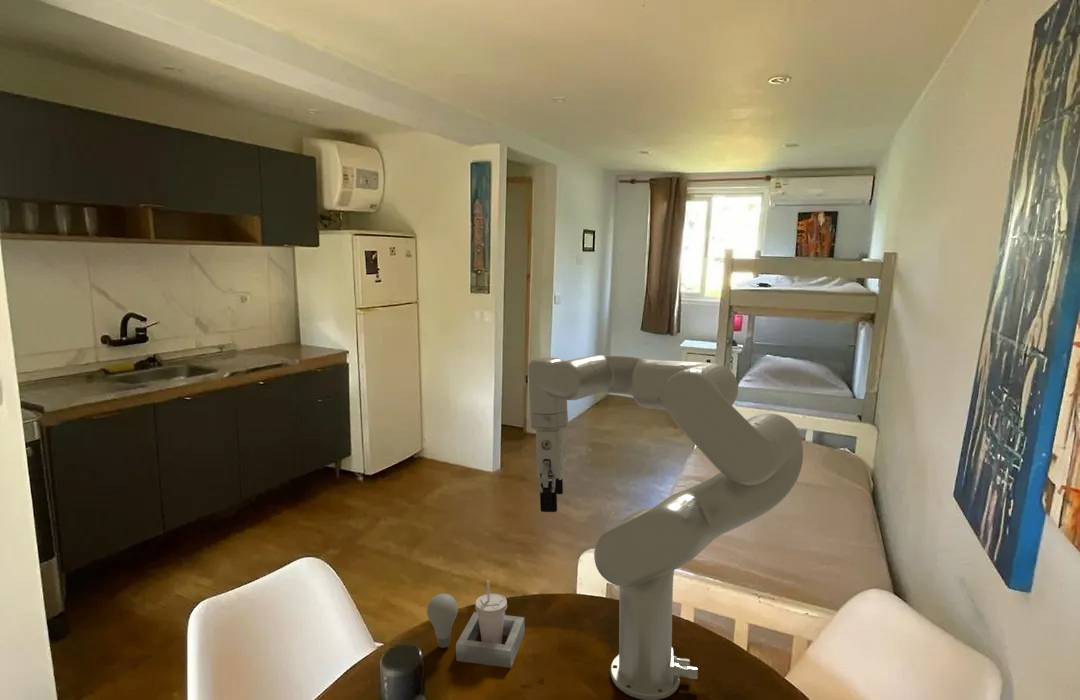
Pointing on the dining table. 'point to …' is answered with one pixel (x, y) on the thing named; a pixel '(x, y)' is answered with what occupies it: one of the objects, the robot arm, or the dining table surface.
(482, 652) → the socket block
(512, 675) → the dining table surface
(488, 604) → the smoothie
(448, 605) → the lightbulb
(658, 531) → the robot arm
